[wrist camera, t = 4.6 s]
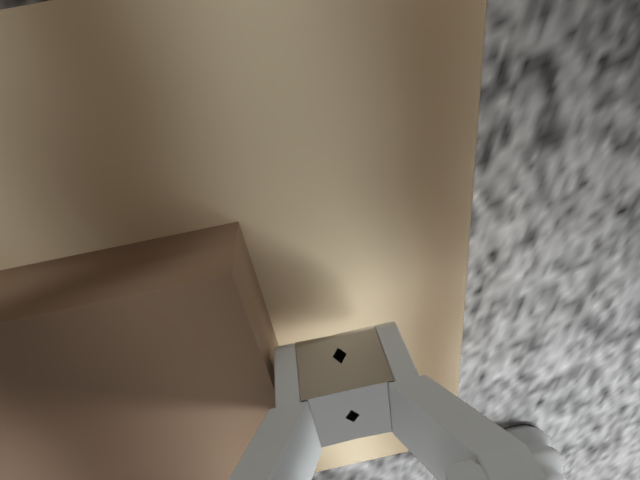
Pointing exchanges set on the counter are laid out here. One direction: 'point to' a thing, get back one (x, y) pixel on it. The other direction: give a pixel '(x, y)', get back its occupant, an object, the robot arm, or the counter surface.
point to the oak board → (258, 152)
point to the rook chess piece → (540, 450)
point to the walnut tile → (135, 361)
